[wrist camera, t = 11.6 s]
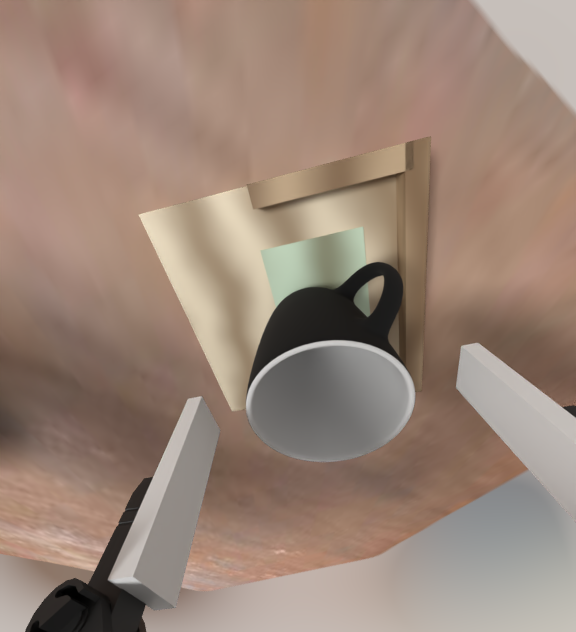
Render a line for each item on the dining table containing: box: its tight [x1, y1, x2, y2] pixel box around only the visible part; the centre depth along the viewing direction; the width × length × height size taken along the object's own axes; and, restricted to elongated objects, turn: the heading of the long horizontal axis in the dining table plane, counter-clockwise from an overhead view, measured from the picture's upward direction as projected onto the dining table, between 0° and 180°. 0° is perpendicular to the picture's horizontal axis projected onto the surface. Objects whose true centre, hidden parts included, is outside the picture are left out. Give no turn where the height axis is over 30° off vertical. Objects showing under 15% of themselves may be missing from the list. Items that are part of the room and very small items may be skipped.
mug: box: [246, 262, 415, 462], centre depth 17 cm, size 12×9×10 cm
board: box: [139, 136, 431, 411], centre depth 22 cm, size 20×21×4 cm
